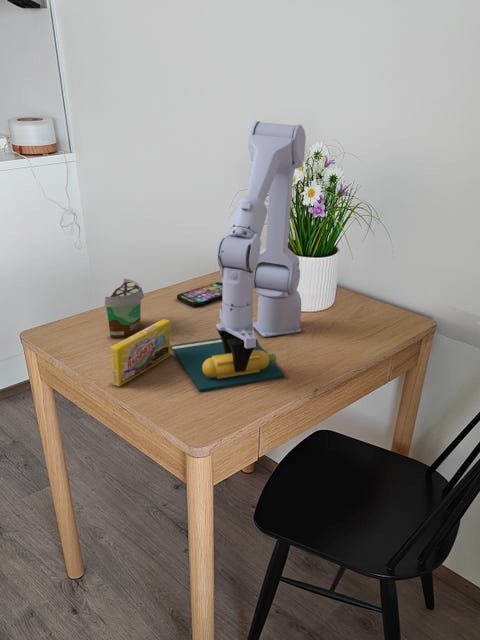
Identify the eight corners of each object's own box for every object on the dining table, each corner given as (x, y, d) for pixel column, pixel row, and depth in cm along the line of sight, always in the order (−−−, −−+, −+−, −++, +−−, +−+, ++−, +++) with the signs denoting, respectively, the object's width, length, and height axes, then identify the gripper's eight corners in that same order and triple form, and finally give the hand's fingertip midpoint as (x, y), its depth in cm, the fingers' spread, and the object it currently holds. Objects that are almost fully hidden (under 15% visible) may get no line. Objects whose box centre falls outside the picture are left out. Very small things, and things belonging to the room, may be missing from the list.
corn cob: (199, 373, 126) (199, 355, 124) (270, 362, 131) (271, 344, 129) (206, 383, 123) (205, 364, 121) (278, 370, 128) (279, 353, 125)
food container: (135, 343, 138) (131, 300, 132) (108, 340, 138) (104, 297, 133) (152, 321, 148) (150, 280, 142) (127, 318, 149) (124, 277, 143)
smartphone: (239, 289, 163) (195, 304, 154) (239, 293, 163) (195, 308, 154) (218, 281, 167) (174, 295, 158) (218, 284, 168) (174, 298, 159)
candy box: (120, 388, 121) (117, 349, 117) (112, 385, 122) (108, 346, 118) (171, 356, 133) (170, 320, 128) (163, 353, 134) (162, 317, 129)
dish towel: (247, 336, 142) (247, 333, 142) (284, 377, 127) (285, 374, 126) (170, 347, 136) (170, 344, 136) (199, 392, 121) (199, 389, 121)
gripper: (204, 289, 123) (205, 352, 130) (231, 318, 111) (230, 385, 119) (238, 285, 125) (237, 347, 132) (268, 314, 114) (264, 380, 121)
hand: (236, 365), depth 126 cm, fingers closed on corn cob, 4 cm apart
